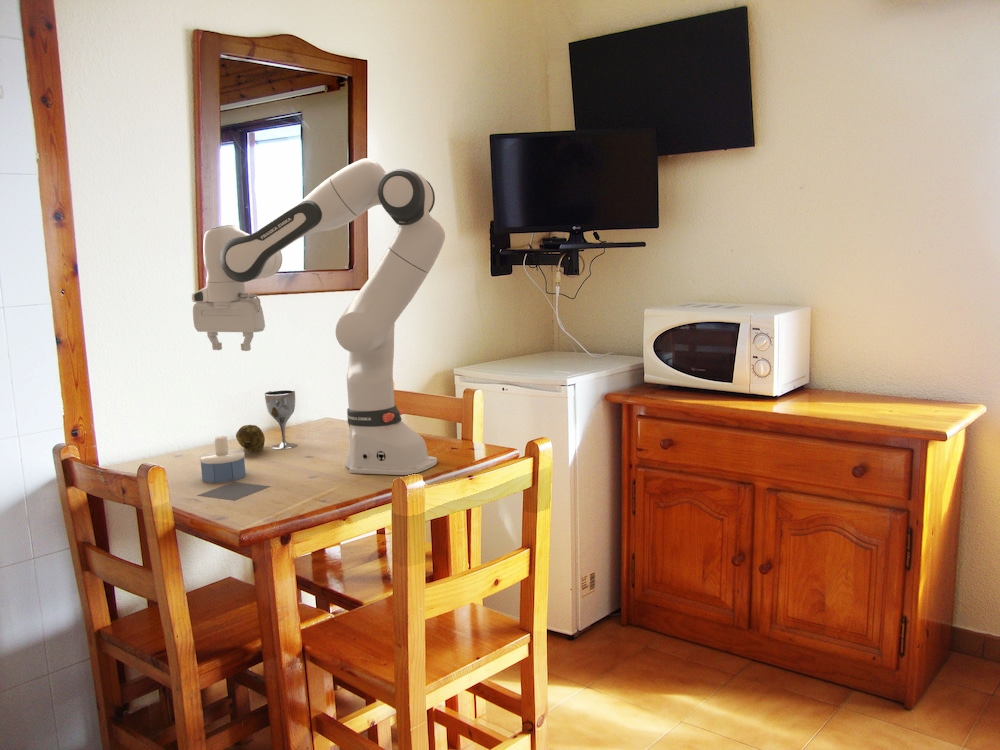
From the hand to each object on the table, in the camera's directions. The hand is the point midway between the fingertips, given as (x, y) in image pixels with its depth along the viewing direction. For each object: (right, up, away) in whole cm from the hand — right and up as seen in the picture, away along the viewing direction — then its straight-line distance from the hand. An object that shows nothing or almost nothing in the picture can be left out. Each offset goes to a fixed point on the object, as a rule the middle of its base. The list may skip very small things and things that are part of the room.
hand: (231, 350), depth 204 cm
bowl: (+1, -31, -7) cm, 31 cm away
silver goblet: (+7, -26, +24) cm, 36 cm away
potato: (0, -27, +19) cm, 33 cm away
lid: (+1, -26, -8) cm, 27 cm away
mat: (+7, -32, -19) cm, 38 cm away
